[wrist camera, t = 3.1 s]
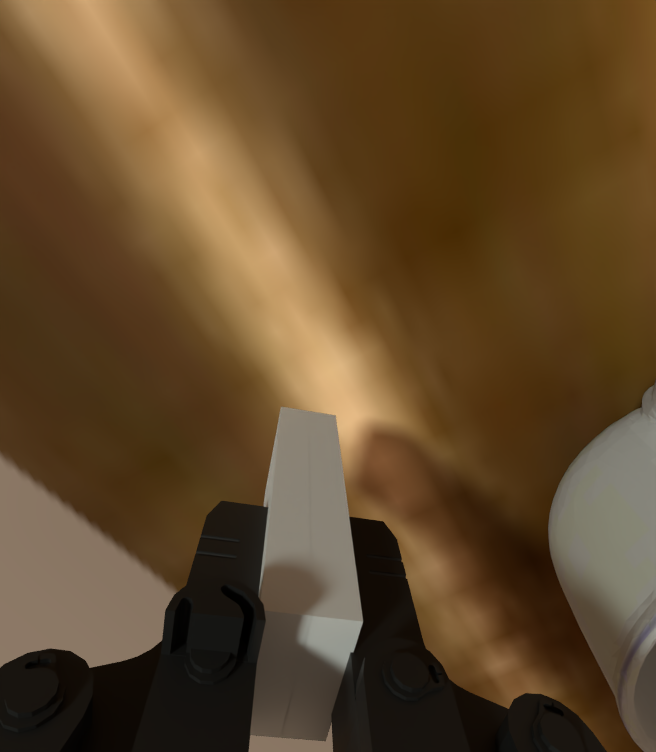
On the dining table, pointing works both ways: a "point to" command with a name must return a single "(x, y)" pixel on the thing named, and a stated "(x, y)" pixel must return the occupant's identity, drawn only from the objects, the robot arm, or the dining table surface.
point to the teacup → (614, 559)
